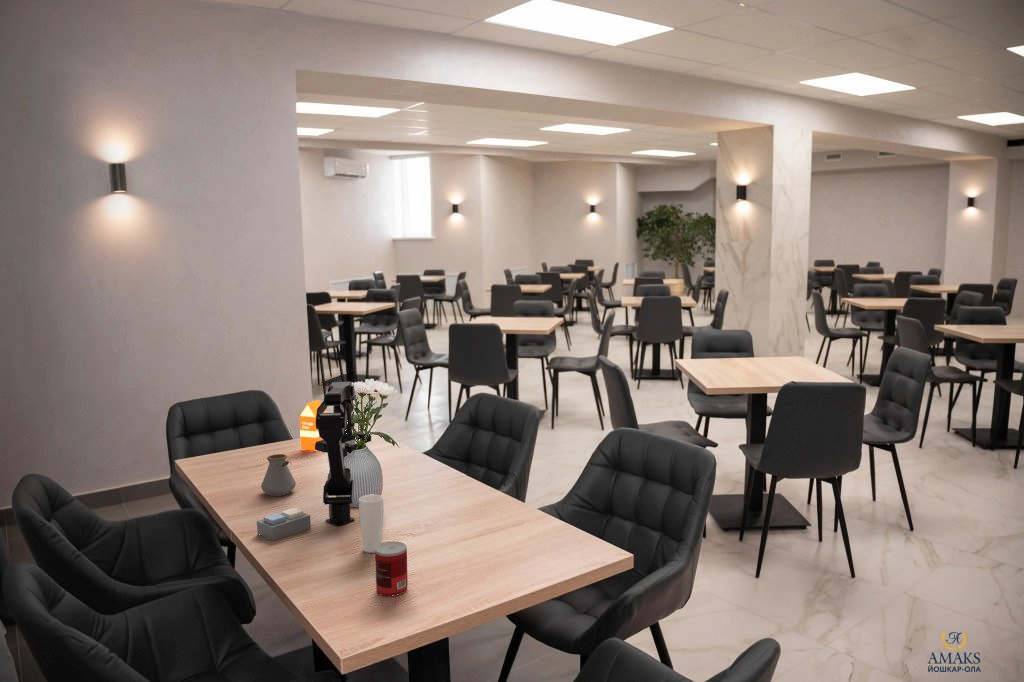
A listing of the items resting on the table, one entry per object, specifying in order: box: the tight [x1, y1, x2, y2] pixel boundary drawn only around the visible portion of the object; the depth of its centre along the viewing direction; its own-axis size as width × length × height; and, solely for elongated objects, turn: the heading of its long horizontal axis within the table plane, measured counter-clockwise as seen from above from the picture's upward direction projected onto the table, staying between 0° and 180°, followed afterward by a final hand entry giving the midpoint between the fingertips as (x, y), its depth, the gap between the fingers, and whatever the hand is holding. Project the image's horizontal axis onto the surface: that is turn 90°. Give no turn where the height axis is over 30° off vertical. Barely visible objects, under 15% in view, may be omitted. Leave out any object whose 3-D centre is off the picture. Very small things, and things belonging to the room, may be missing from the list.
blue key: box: [263, 512, 286, 525], centre depth 224 cm, size 4×4×4 cm
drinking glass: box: [358, 493, 385, 554], centre depth 211 cm, size 7×7×15 cm
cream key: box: [281, 507, 304, 519], centre depth 228 cm, size 4×4×4 cm
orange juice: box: [299, 399, 328, 450], centre depth 317 cm, size 8×9×20 cm
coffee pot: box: [260, 453, 297, 497], centre depth 256 cm, size 21×12×15 cm, turn 30°
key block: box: [256, 512, 312, 541], centre depth 226 cm, size 8×13×4 cm, turn 140°
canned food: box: [374, 540, 409, 597], centre depth 187 cm, size 8×8×11 cm
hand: (344, 467), depth 246 cm, fingers closed
